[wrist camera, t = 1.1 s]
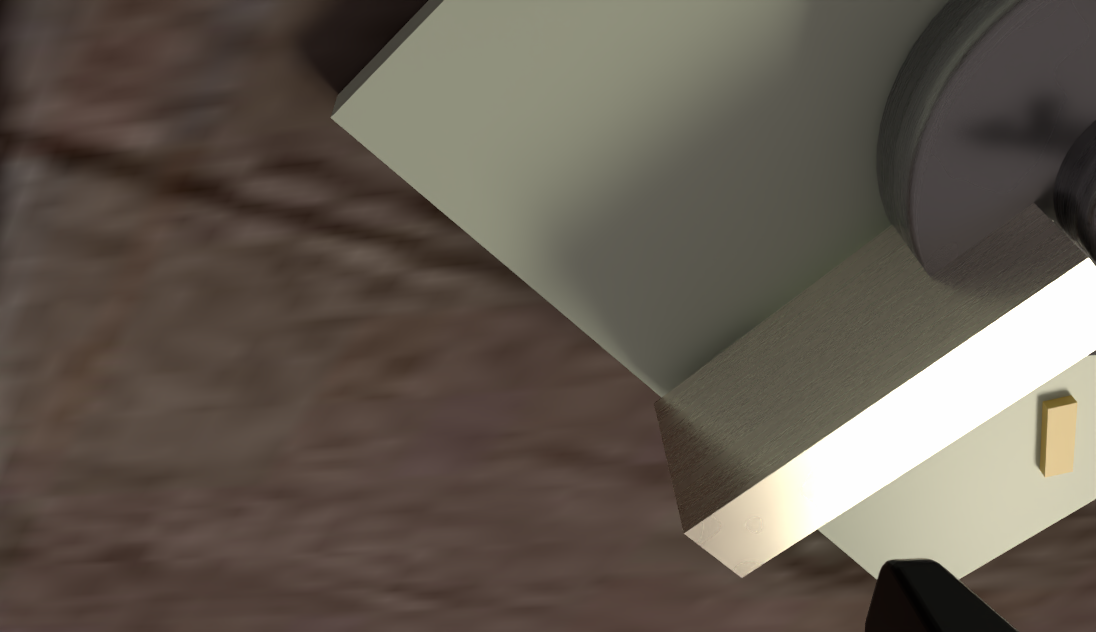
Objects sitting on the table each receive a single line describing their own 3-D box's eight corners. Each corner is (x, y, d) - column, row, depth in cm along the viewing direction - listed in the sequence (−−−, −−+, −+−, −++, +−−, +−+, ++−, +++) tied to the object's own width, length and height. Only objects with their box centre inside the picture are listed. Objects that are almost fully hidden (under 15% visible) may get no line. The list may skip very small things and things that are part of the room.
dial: (1188, -201, 14) (1381, -160, 11) (1355, 121, 17) (1542, 223, 14) (559, 318, 19) (574, 449, 16) (780, 504, 22) (829, 644, 19)
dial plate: (1381, -995, 11) (1477, -1063, 10) (1697, 92, 19) (1769, 119, 18) (337, 95, 18) (328, 125, 16) (896, 576, 25) (914, 617, 24)
